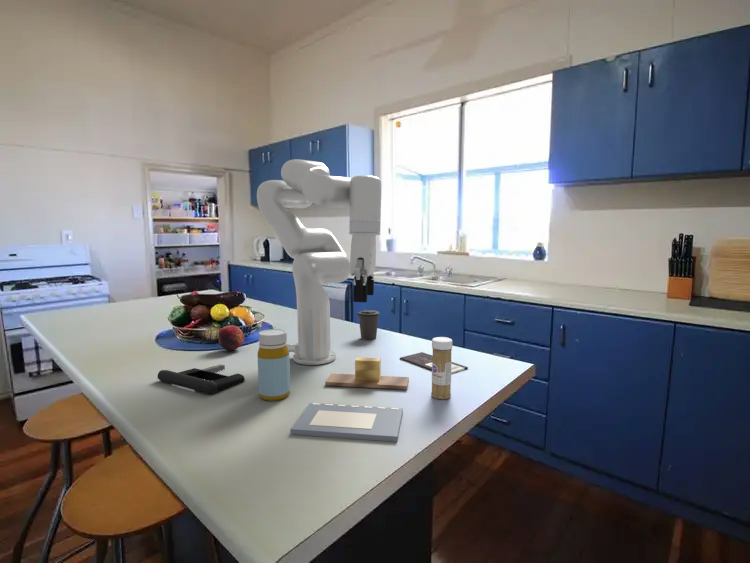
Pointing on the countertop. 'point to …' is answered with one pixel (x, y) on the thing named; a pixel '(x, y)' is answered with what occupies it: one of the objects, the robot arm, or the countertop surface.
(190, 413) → the countertop surface
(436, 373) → the sprinkles bottle
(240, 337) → the fruit
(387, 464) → the countertop surface
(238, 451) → the countertop surface
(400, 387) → the stub
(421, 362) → the chocolate bar
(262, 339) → the bottle
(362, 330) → the coffee cup
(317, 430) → the ticket
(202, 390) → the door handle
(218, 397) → the countertop surface
